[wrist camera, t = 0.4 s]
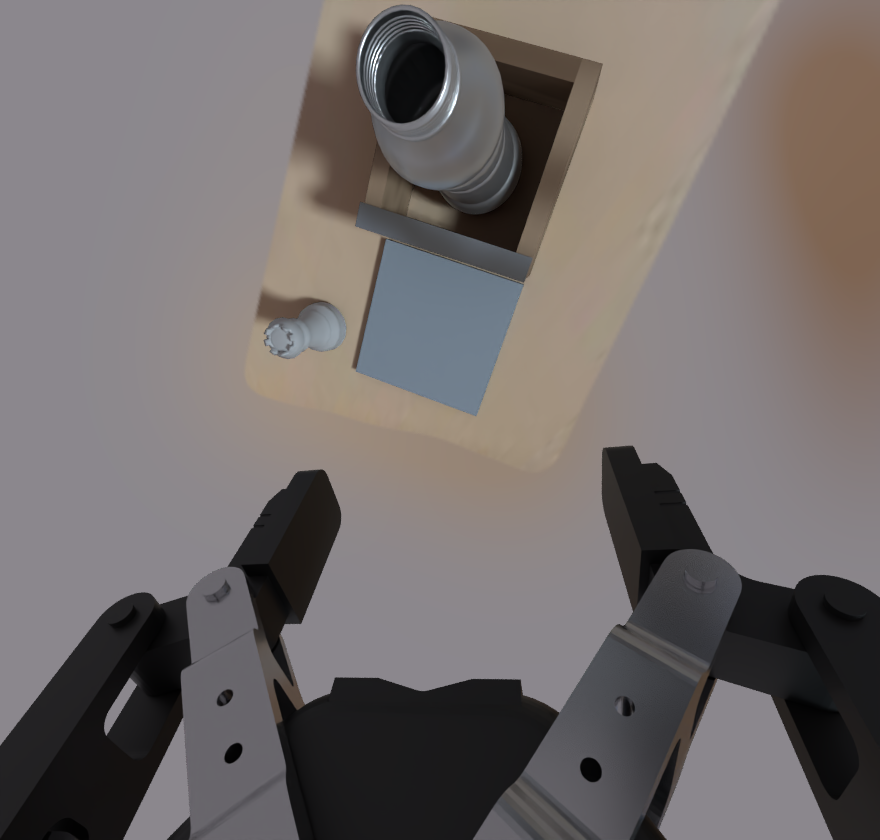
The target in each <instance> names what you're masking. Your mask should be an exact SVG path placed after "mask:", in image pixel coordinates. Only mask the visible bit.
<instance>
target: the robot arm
mask: <svg viewBox="0 0 880 840" xmlns="http://www.w3.org/2000/svg"><path fill="white" fill-rule="evenodd" d="M602 501H603V507H604V512H605V517H606V520H607V523H608V527H609V530H610V534H611V537H612V541H613V544H614V548H615V551H616V554H617V558H618V561H619V565H620V568H621V571H622V575H623V578H624V582H625V585H626V589H627V592H628V596H629V599H630V603H631V606H632V609H633V613H632V615H631V617H630V618H629V620H628V621H627V623H626V624H625V625H624V626H622V625H620V624H618V625H616V626H615V627H614V628H613V629H612V630H611V632H610V633H609V635H608V636H607V638H606V639H605V641H604V643H603V644H602V646H601V647H600V649H599V651H598V652H597V654H596V655H595V657H594V659H593V660H592V662H591V663H590V665H589V667H588V668H587V670H586V671H585V673H584V675H583V676H582V678H581V680H580V681H579V683H578V684H577V686H576V688H575V689H574V691H573V692H572V694H571V696H570V697H569V699H568V700H567V702H566V704H565V705H564V707H563V709H562V710H561V712H560V713H559V712H557V711H556V710H554V709H553V708H551V707H549V706H548V705H546V704H545V703H542V702H540V701H538V700H536V699H533V698H530V697H527V696H523V693H522V686H521V680H512V679H510V680H507V679H505V680H504V679H471V680H467V681H463V682H459V683H455V684H452V685H448V686H444V687H440V688H436V689H432V690H429V691H418V690H414V689H411V688H408V687H405V686H402V685H399V684H395V683H392V682H389V681H386V680H383V679H380V678H335V680H334V683H333V686H332V690H331V693H330V694H328V695H325V696H322V697H320V698H317V699H315V700H313V701H312V702H309V703H308V704H306V705H305V704H304V702H303V699H302V697H301V694H300V691H299V688H298V685H297V681H296V678H295V675H294V672H293V669H292V665H291V662H290V659H289V656H288V653H287V649H286V646H285V643H284V640H283V638H282V636H281V634H280V633H281V631H282V629H283V626H284V624H301V623H302V620H303V618H304V615H305V613H306V610H307V608H308V605H309V603H310V600H311V598H312V595H313V593H314V590H315V588H316V586H317V583H318V580H319V578H320V575H321V573H322V571H323V568H324V566H325V563H326V561H327V558H328V555H329V553H330V551H331V548H332V546H333V543H334V541H335V538H336V536H337V533H338V531H339V528H340V524H341V511H340V507H339V504H338V501H337V499H336V496H335V494H334V491H333V488H332V486H331V483H330V481H329V478H328V476H327V474H326V472H325V471H324V470H309V471H299V472H297V473H296V474H295V475H294V477H293V479H292V480H291V482H290V484H289V485H288V487H287V489H282V490H281V491H280V492H279V493H277V494H276V495H275V496H274V497H273V498H272V499H271V500H270V501H269V502H268V503H267V505H266V506H265V508H264V510H263V511H262V513H261V514H260V517H259V518H258V519H257V521H256V522H255V524H254V528H252V529H251V530H250V532H249V533H248V535H247V537H246V538H245V540H244V541H243V543H242V545H241V546H240V548H239V549H238V551H237V553H236V554H235V556H234V558H233V559H232V561H231V562H230V564H229V565H228V567H225V568H221V569H218V570H216V571H214V572H212V573H210V574H208V575H207V576H205V577H204V578H203V579H201V580H200V581H199V582H198V583H197V584H196V585H195V586H194V587H193V589H192V590H191V592H190V593H189V595H188V596H186V597H182V598H179V599H176V600H173V601H170V602H166V603H163V604H159V603H158V602H157V601H156V599H155V598H154V597H153V596H152V595H151V594H149V593H136V594H133V595H130V596H128V597H125V598H123V599H121V600H120V601H118V602H117V603H115V604H114V605H112V606H111V607H110V608H108V609H107V610H106V611H105V612H104V613H103V614H102V615H101V616H100V617H99V619H98V620H97V621H96V623H95V624H94V625H93V626H92V628H91V629H90V630H89V632H88V633H87V634H86V635H85V637H84V638H83V639H82V641H81V642H80V643H79V645H78V646H77V647H76V648H75V650H74V651H73V652H72V654H71V655H70V656H69V658H68V659H67V660H66V661H65V663H64V664H63V665H62V667H61V668H60V669H59V670H58V672H57V673H56V674H55V676H54V677H53V678H52V679H51V681H50V682H49V683H48V685H47V686H46V687H45V688H44V690H43V691H42V692H41V694H40V695H39V696H38V698H37V699H36V700H35V701H34V703H33V704H32V705H31V707H30V708H29V710H28V711H27V712H26V713H25V714H24V716H23V717H22V718H21V720H20V721H19V722H18V723H17V725H16V726H15V727H14V729H13V730H12V731H11V733H10V734H9V735H8V736H7V738H6V739H5V740H4V742H3V743H2V744H1V746H0V840H123V839H124V836H125V834H126V832H127V830H128V828H129V826H130V824H131V822H132V820H133V818H134V816H135V814H136V812H137V810H138V808H139V806H140V804H141V802H142V800H143V798H144V796H145V794H146V792H147V790H148V788H149V785H150V783H151V781H152V779H153V777H154V775H155V773H156V771H157V769H158V767H159V765H160V763H161V761H162V759H163V757H164V755H165V753H166V751H167V749H168V746H169V745H170V743H171V741H172V739H173V737H174V735H175V732H176V731H177V728H178V727H179V724H180V722H181V720H182V718H184V732H185V748H186V763H187V776H188V791H189V806H190V817H189V818H188V819H187V820H186V821H185V822H184V823H183V824H182V825H181V826H180V827H179V828H178V829H177V830H176V831H175V832H174V833H173V834H172V835H171V836H170V837H169V838H168V839H167V840H666V838H665V837H664V836H663V835H662V833H661V832H660V831H659V828H660V825H661V822H662V820H663V818H664V816H665V813H666V811H667V808H668V805H669V803H670V801H671V798H672V795H673V793H674V790H675V788H676V785H677V783H678V780H679V777H680V775H681V772H682V769H683V766H684V763H685V759H686V756H687V754H688V751H689V748H690V746H691V743H692V741H693V738H694V736H695V733H696V731H697V728H698V726H699V723H700V721H701V719H702V716H703V714H704V711H705V709H706V706H707V704H708V701H709V699H710V696H711V694H712V692H713V689H714V687H715V684H716V682H717V679H720V680H724V681H727V682H730V683H733V684H737V685H741V686H743V687H747V688H750V689H753V690H756V691H760V692H763V693H766V694H770V695H771V697H772V698H773V701H774V703H775V706H776V708H777V710H778V713H779V715H780V717H781V719H782V722H783V724H784V726H785V729H786V731H787V734H788V736H789V738H790V741H791V743H792V745H793V748H794V750H795V752H796V755H797V757H798V759H799V761H800V764H801V766H802V768H803V771H804V773H805V775H806V778H807V780H808V782H809V785H810V787H811V789H812V792H813V794H814V796H815V799H816V801H817V803H818V806H819V808H820V810H821V813H822V815H823V817H824V819H825V822H826V824H827V827H828V829H829V831H830V834H831V836H832V838H833V840H880V597H878V596H877V595H876V594H874V593H873V592H871V591H870V590H868V589H866V588H865V587H863V586H861V585H859V584H857V583H854V582H852V581H849V580H847V579H843V578H840V577H835V576H829V575H814V576H809V577H806V578H804V579H802V580H801V581H799V583H798V584H797V585H796V587H795V589H791V588H787V587H782V586H777V585H773V584H768V583H763V582H759V581H755V580H752V579H749V578H746V577H744V576H741V575H739V574H738V573H737V572H736V570H735V569H734V568H733V567H732V566H731V565H730V564H729V563H728V562H726V561H725V560H724V559H722V558H720V557H718V556H716V555H714V554H713V552H712V551H711V549H710V547H709V545H708V543H707V541H706V539H705V537H704V536H703V534H702V532H701V530H700V528H699V526H698V524H697V522H696V520H695V518H694V516H693V515H692V513H691V511H690V509H689V507H688V506H687V505H686V501H685V499H684V497H683V495H682V494H681V493H680V490H679V488H678V486H677V484H676V482H675V480H674V478H673V477H672V475H671V474H670V473H668V472H667V471H666V470H665V469H664V468H662V467H661V466H660V465H658V464H657V463H649V464H641V461H640V459H639V457H638V455H637V453H636V450H635V448H634V447H633V446H621V447H608V448H603V452H602ZM129 678H131V679H132V680H133V681H134V682H135V683H136V684H137V686H136V688H135V690H134V691H133V693H132V695H131V696H130V698H129V700H128V701H127V703H126V704H125V706H124V708H123V709H122V711H121V713H120V714H119V716H118V718H117V719H116V721H115V723H114V724H113V726H112V728H111V729H110V731H109V733H108V734H107V736H106V735H105V732H104V722H105V718H106V716H107V713H108V711H109V710H110V708H111V706H112V705H113V703H114V702H115V700H116V698H117V697H118V695H119V694H120V692H121V690H122V689H123V687H124V686H125V684H126V682H127V681H128V679H129Z"/></svg>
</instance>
